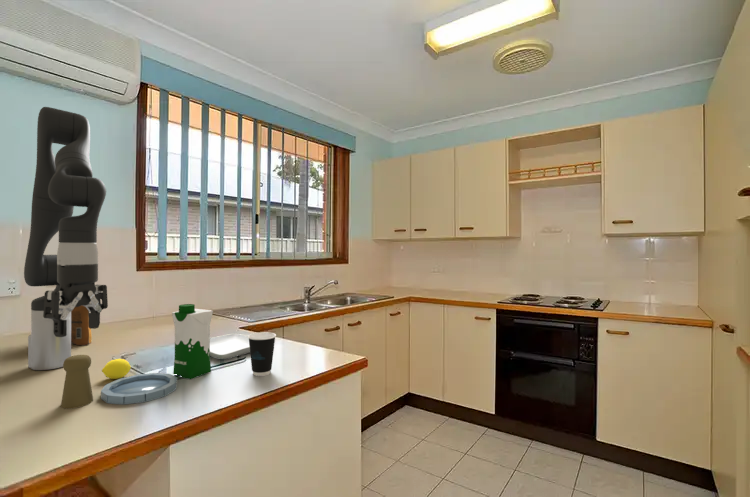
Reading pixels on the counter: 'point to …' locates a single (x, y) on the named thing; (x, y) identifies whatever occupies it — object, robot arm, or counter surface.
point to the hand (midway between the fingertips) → (77, 332)
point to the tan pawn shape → (77, 382)
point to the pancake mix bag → (80, 326)
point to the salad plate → (229, 346)
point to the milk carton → (192, 341)
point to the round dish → (139, 388)
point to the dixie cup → (261, 352)
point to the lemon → (116, 368)
